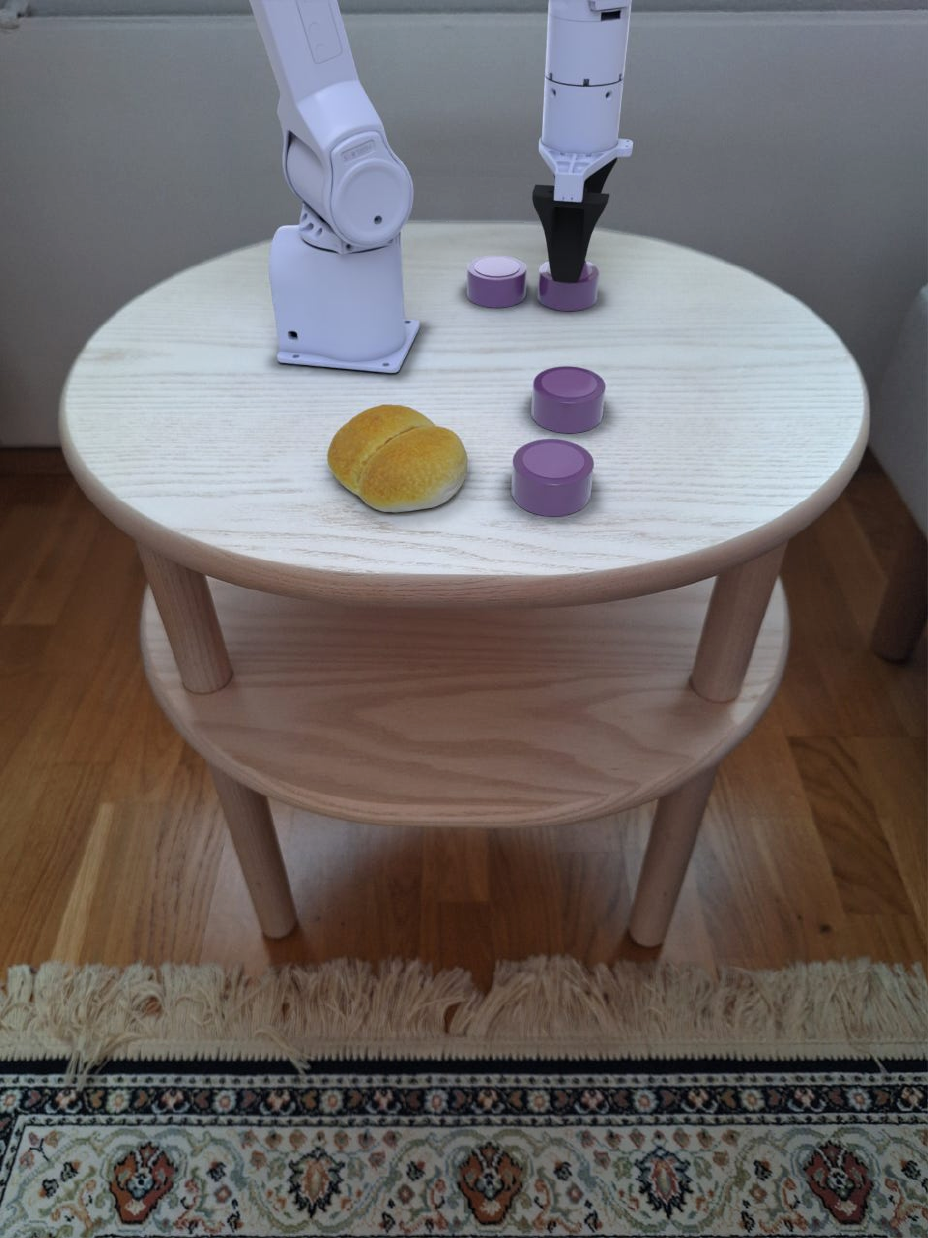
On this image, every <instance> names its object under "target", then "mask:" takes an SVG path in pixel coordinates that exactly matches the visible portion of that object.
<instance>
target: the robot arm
mask: <svg viewBox="0 0 928 1238" xmlns="http://www.w3.org/2000/svg"><path fill="white" fill-rule="evenodd" d="M248 1H249V4H250V7H251V10H252V13H253V16H254V20H255V22H256V26H257V28H258V31H259V34H260V37H261V39H262V43H263V46H264V49H265V52H266V55H267V58H268V61H269V64H270V66H271V69H272V70H271V71H272V72H273V75H274V79H275V81H276V84H277V87H278V90H279V98H278V99H279V100H278V104H277V109H276V114H277V117H278V121H279V123H280V127H281V130H282V137H283V148H282V158H281V159H282V161H281V162H282V171H283V175H284V178H285V181H286V183H287V186H288V187H289V188H290V190H291V191H292V193H293V194H294V195H295V196H296V197H298V199H300V200H301V204H302V208H301V213H300V217H299V223H298V224H294V225H293V224H292V225H289V224H288V225H281V226H280V227H278V228H277V230H276V231H275V232H274V235H273V238H272V240H271V243H270V247H269V248H270V249H269V256H268V277H269V278H268V279H269V286H270V292H271V293H270V294H271V300H272V307H273V313H274V320H275V327H276V334H277V340H278V341H277V342H278V349H279V351H278V353H277V355H276V359H277V362H279V363H281V364H282V363H283V364H293V365H302V366H303V365H304V366H314V367H322V368H323V367H324V368H333V369H334V368H335V369H336V368H337V369H345V370H354V371H355V370H356V371H366V372H377V373H389V374H395V373H397V372H399V371H400V370H401V367H402V365H403V364H404V361H405V358H406V356H407V355H408V353H409V350H410V348H411V346H412V344H413V342H414V340H415V338H416V336H417V334H418V332H419V330H420V323H421V322H420V321H418V320H416V319H406V318H405V297H404V296H405V295H404V292H405V291H404V273H403V254H402V251H403V250H402V232H401V231H402V229H403V228H404V226H405V225H406V224H407V221H408V220H409V217H410V215H411V213H412V209H413V205H414V196H415V195H414V194H415V193H414V184H413V183H414V182H413V180H412V176H411V174H410V172H409V169H408V168H407V166H406V165H405V162H403V161H402V160H401V159H400V158H399V157H398V156H397V155H396V154H395V152H394V151H393V150H392V148H391V146H390V144H389V142H388V138H387V136H386V131H385V128H384V125H383V122H382V120H381V117H380V115H379V114H378V112H377V111H376V108H375V106H374V105H373V103H372V102H371V99H370V98H369V96H368V95H367V93H366V91H365V89H364V87H363V86H362V83H361V82H360V79H359V76H358V72H357V69H356V64H355V61H354V58H353V53H352V50H351V47H350V43H349V38H348V35H347V32H346V29H345V23H344V21H343V17H342V14H341V10H340V9H341V8H340V7H339V2H338V0H248ZM632 2H633V0H548V6H547V7H548V9H547V29H546V49H545V50H546V51H545V72H544V89H543V110H542V129H541V131H542V132H541V135H542V136H541V137H540V138H539V140H538V153H539V154H540V156H541V157H542V159H543V160H544V162H545V164H546V165H547V167H548V168H549V170H550V171H551V172H552V174H553V178H554V185H549V184H534V187H533V190H532V192H531V193H532V195H531V200H532V205H533V208H534V209H535V212H536V213H537V215H538V217H539V220H540V224H541V226H542V229H543V232H544V236H545V242H546V251H547V257H548V261H549V266H550V271H551V276H552V280H553V281H558V282H571V283H578V281H579V279H580V276H581V273H582V270H583V266H584V262H585V261H586V257H587V254H588V248H589V245H590V241H591V237H592V235H593V232H594V230H595V228H596V225H597V223H598V221H599V219H600V217H602V214H603V213H604V211H605V209H606V207H607V205H608V204H609V199H610V193H602V192H603V189H604V188H605V184H606V182H607V180H608V178H609V175H610V174H611V172H612V171H613V168H614V166H615V165H616V164H617V162H618V158H629V157H631V156H632V154H633V145H634V141H633V140H631V139H628V138H619V132H620V131H619V130H620V122H621V121H620V119H621V110H622V101H623V99H622V98H623V91H624V80H625V71H626V60H627V50H628V42H629V41H628V40H629V30H630V19H631V11H632Z"/></svg>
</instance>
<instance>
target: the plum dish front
mask: <svg viewBox="0 0 928 1238" xmlns="http://www.w3.org/2000/svg"><path fill="white" fill-rule="evenodd" d="M511 465H512V468H511V469H512V470H511V492H510V493H511V496H512V498H513V500H514V502H515V503H516V504H517V505H518V506H519V507H520V508H521V509H523V510H525V511H527V512H529V513H532V514H535V515H539V516H544V517H563V516H568V515H571V514H575V513H577V512H579V511H580V510H582V509H583V508H585V507H586V506H587V505H588V503H589V501H590V500H591V495H592V494H591V493H592V485H593V478H594V477H593V476H594V469H595V468H594V467H595V462H594V457H593V456H592V455H591V453H590V452H589V451H588V450H587V449H586V448H584V447H583V446H581V445H579V443H578V444H577V443H575V442H572V441H568V440H565V439H559V438H544V439H543V438H542V439H536V440H532V441H530V442H527V443H525V444H523V445H521V447H519V448H518V449H517V450H516V451H515V452H514V454H513V456H512V464H511Z"/></svg>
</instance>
